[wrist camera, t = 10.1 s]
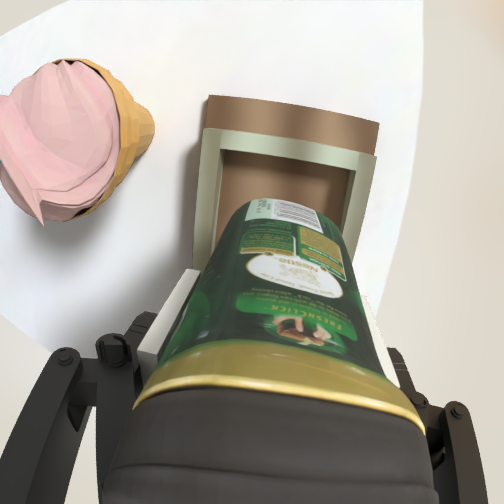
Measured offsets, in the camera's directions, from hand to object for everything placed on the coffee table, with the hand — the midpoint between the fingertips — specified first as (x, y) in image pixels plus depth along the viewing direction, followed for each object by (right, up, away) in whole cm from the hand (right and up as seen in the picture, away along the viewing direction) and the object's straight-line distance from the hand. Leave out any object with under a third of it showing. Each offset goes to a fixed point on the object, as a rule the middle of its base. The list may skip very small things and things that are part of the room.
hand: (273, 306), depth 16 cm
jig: (+1, +6, +13) cm, 14 cm away
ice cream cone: (-12, +15, +11) cm, 22 cm away
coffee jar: (+1, +2, +5) cm, 5 cm away
